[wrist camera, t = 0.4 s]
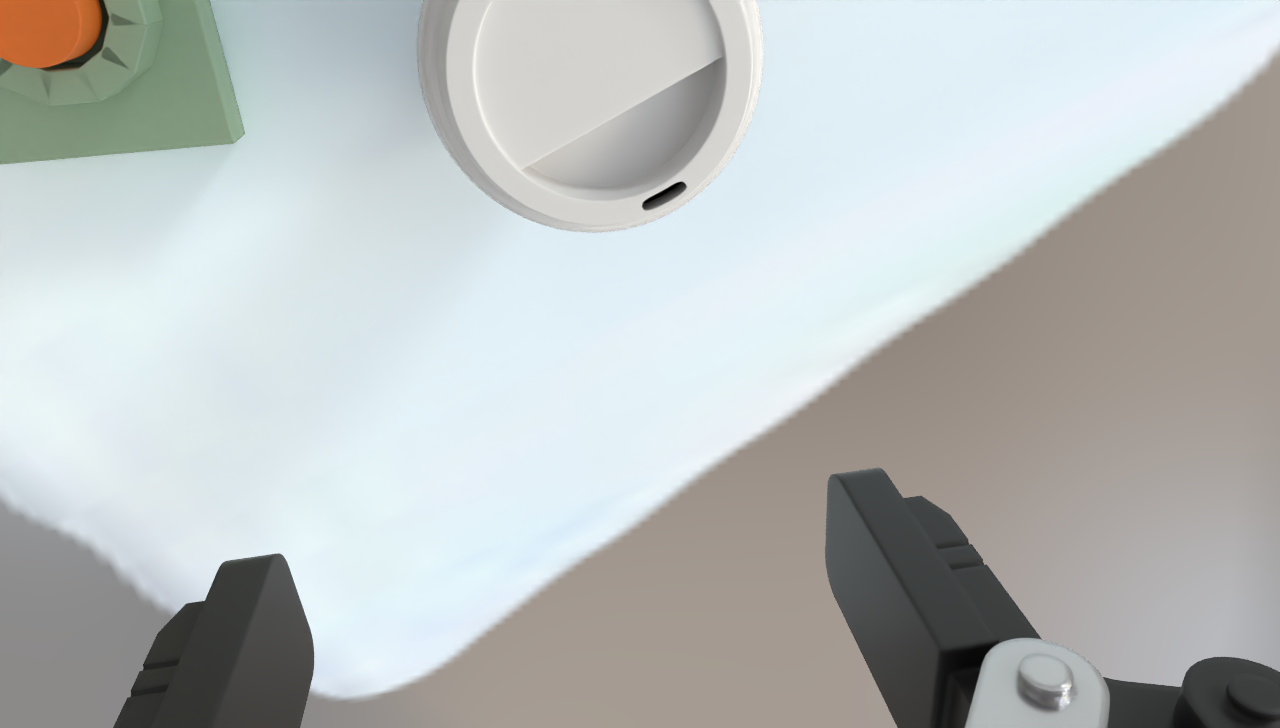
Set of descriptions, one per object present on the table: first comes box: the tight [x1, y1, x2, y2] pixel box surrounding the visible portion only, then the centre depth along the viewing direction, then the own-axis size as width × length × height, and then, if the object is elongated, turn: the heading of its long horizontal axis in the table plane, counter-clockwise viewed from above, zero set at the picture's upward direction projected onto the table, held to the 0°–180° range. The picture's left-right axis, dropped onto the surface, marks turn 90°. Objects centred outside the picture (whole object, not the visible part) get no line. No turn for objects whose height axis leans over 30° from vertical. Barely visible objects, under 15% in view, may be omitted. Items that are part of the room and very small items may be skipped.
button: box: [0, 0, 102, 68], centre depth 29 cm, size 4×4×2 cm
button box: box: [0, 0, 245, 164], centre depth 31 cm, size 11×9×4 cm
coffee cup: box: [417, 0, 763, 232], centre depth 29 cm, size 10×10×15 cm
